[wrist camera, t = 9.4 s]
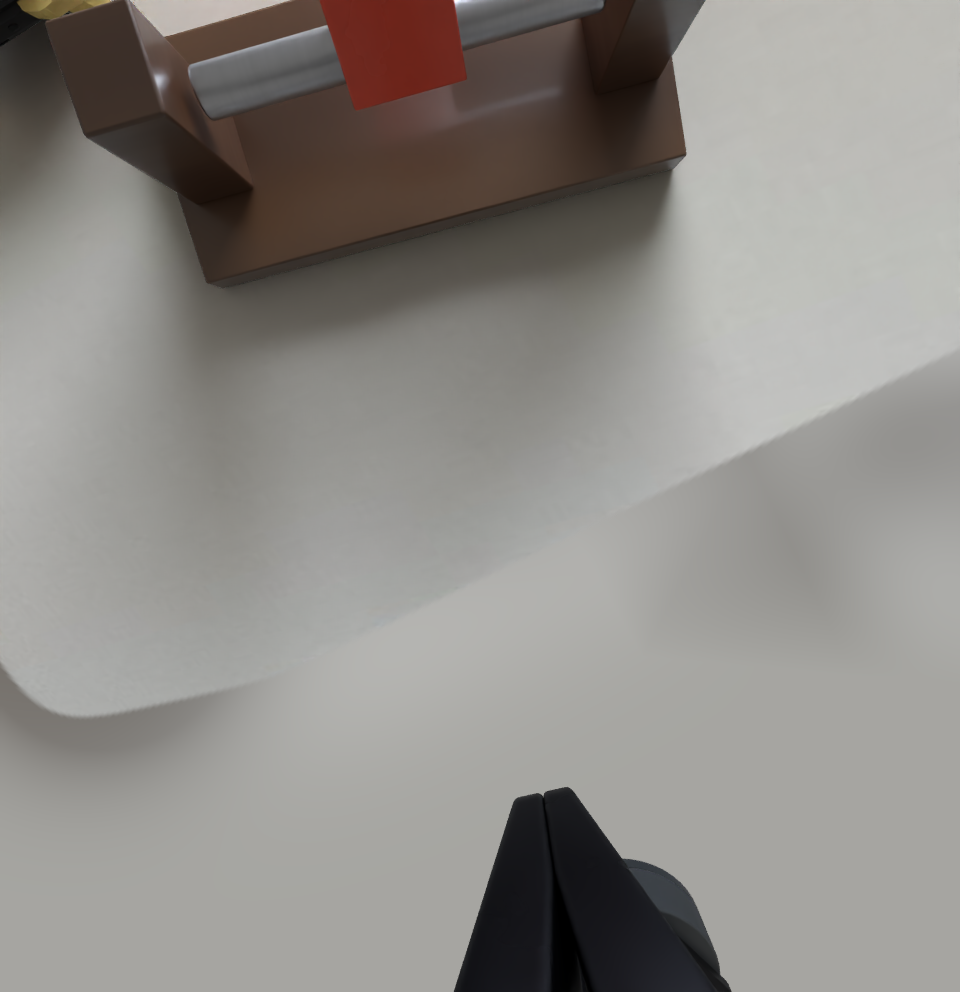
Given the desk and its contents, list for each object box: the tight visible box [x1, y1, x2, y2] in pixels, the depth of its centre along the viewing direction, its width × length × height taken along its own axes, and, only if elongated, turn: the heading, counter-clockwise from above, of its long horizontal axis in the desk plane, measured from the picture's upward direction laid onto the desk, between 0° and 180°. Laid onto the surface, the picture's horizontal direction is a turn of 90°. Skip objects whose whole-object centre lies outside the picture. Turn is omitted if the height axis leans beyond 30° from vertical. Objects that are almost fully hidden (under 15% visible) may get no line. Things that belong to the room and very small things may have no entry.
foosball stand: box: [45, 0, 705, 289], centre depth 15 cm, size 7×16×6 cm, turn 104°
